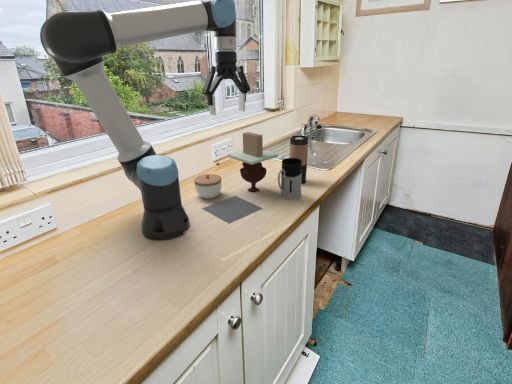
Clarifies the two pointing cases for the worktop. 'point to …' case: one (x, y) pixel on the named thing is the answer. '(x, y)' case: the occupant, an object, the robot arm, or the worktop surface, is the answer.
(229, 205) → the square tray
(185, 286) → the worktop surface
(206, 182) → the lidded jar
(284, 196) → the glass holder
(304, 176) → the travel mug
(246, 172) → the ice cream bowl
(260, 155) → the board
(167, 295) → the worktop surface
